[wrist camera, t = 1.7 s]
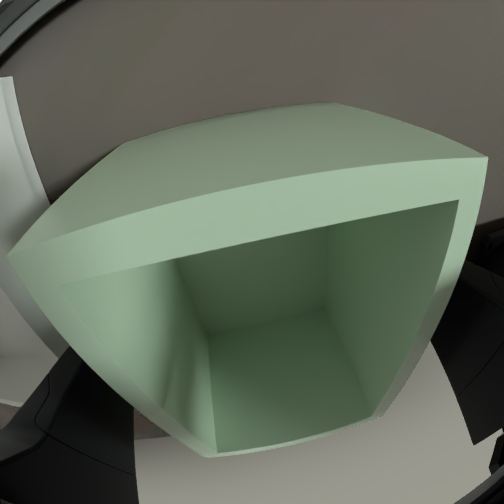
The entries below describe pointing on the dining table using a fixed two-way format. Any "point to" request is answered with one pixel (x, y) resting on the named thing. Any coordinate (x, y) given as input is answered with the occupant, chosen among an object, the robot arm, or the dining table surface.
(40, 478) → the robot arm
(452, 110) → the dining table surface
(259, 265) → the small crate
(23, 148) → the big crate
